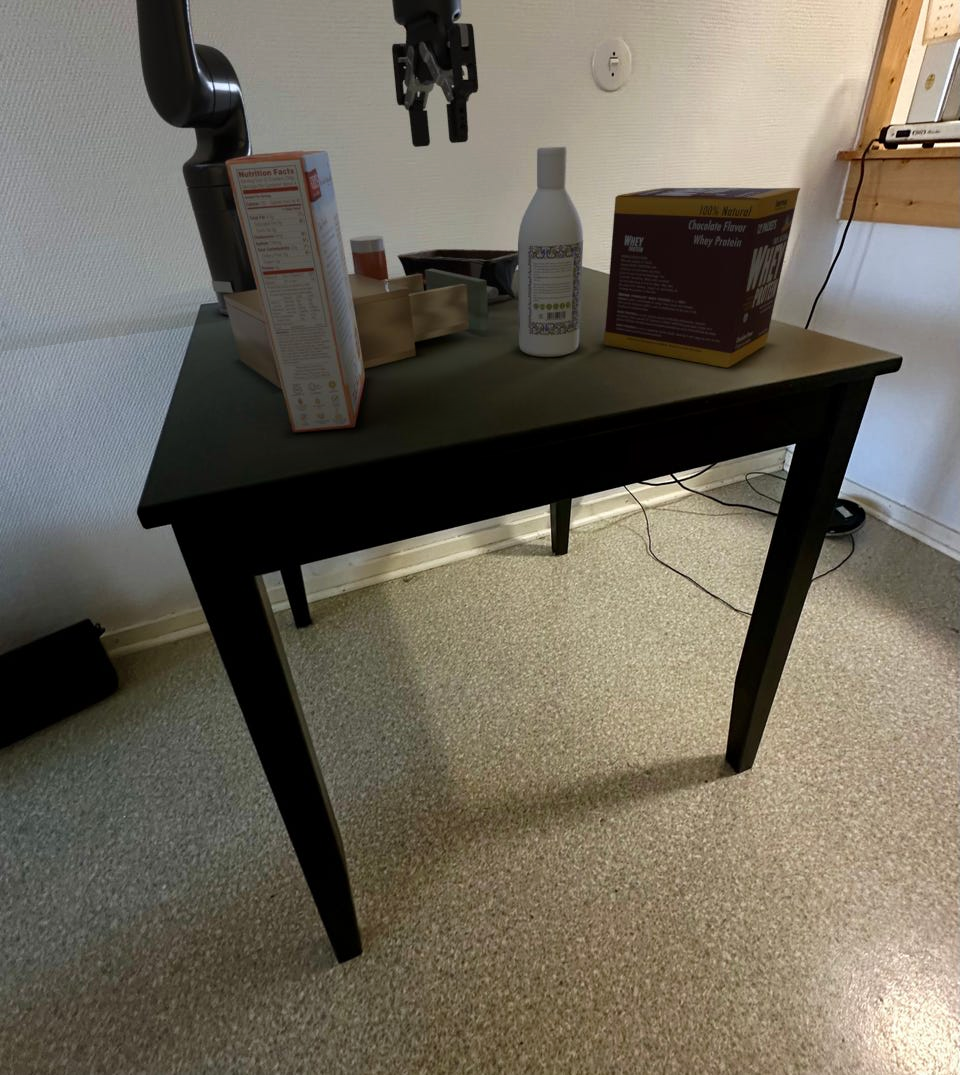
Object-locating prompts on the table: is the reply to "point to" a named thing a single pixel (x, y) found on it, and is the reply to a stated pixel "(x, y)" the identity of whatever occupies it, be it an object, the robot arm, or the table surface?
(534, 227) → the bath foam
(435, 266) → the baking dish
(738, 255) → the supplement box
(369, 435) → the table surface
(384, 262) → the salt shaker
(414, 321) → the drawer
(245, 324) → the cabinet
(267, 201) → the cracker box
